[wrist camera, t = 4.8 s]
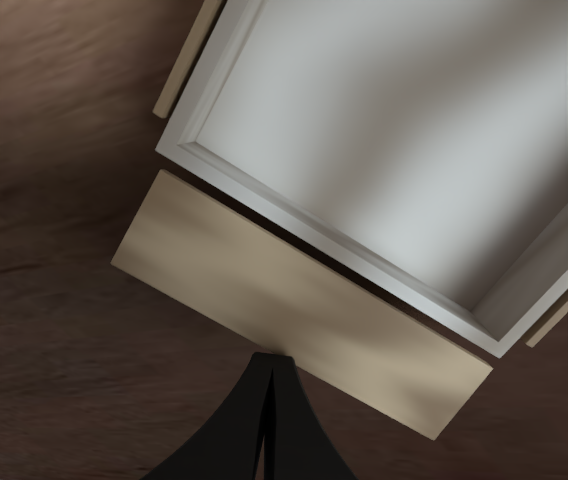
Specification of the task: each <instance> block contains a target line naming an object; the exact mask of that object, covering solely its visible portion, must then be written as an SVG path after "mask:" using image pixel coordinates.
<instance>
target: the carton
mask: <svg viewBox="0 0 568 480" xmlns="http://www.w3.org/2000/svg"><path fill="white" fill-rule="evenodd" d="M153 113H154V114H156V115H158V116H159V117H161V118H170V120H169V122H168V124H167V126H166V128H165V130H164V132H163V135H162V137H161V139H160V141H159V143H158V145H157V147H156V149H155V151H157V152H159V153H160V154H162V155H164V156H165V157H167V158H169V159H170V160H172V161H174V162H175V163H177V164H179V165H180V166H182V167H184V168H185V169H187V170H189V171H190V172H192V173H193V174H195V175H197V176H198V177H200V178H202V179H203V180H205V181H207V182H208V183H210V184H212V185H213V186H215V187H217V188H218V189H220V190H222V191H223V192H225V193H227V194H228V195H230V196H232V197H233V198H235V199H236V200H238V201H240V202H241V203H243V204H245V205H246V206H248V207H250V208H251V209H253V210H255V211H256V212H258V213H260V214H261V215H263V216H265V217H266V218H268V219H270V220H271V221H273V222H275V223H276V224H278V225H279V226H281V227H283V228H284V229H286V230H288V231H289V232H291V233H293V234H294V235H296V236H298V237H299V238H301V239H303V240H304V241H306V242H308V243H309V244H311V245H313V246H314V247H316V248H318V249H319V250H321V251H322V252H324V253H326V254H327V255H329V256H331V257H332V258H334V259H336V260H337V261H339V262H341V263H342V264H344V265H346V266H347V267H349V268H351V269H352V270H354V271H356V272H357V273H359V274H361V275H362V276H364V277H365V278H367V279H369V280H370V281H372V282H374V283H375V284H377V285H379V286H380V287H382V288H384V289H385V290H387V291H389V292H390V293H392V294H394V295H395V296H397V297H399V298H400V299H402V300H404V301H405V302H407V303H408V304H410V305H412V306H413V307H415V308H417V309H418V310H420V311H422V312H423V313H425V314H427V315H428V316H430V317H432V318H433V319H435V320H437V321H438V322H440V323H442V324H443V325H445V326H446V327H448V328H450V329H451V330H453V331H455V332H456V333H458V334H460V335H461V336H463V337H465V338H466V339H468V340H470V341H471V342H473V343H475V344H476V345H478V346H480V347H481V348H483V349H485V350H486V351H488V352H489V353H491V354H493V355H494V356H496V357H498V358H499V359H500V357H501V356H502V355H503V354H504V353H505V352H506V351H507V350H508V349H509V348H510V347H511V346H512V345H513V344H514V343H515V342H516V341H517V340H518V339H519V338H520V339H521V340H522V341H523V342H524V343H525V344H527V345H529V346H530V347H533V346H534V345H535V344H536V343H537V342H538V341H539V340H540V339H541V338H542V337H543V336H544V335H545V334H546V333H547V332H548V331H549V330H550V329H551V328H552V327H553V326H554V325H555V324H556V323H557V322H558V321H559V320H560V319H561V318H562V317H563V316H564V315H565V314H566V313H567V312H568V0H205V1H204V3H203V5H202V7H201V9H200V11H199V14H198V16H197V18H196V20H195V22H194V24H193V26H192V28H191V31H190V33H189V35H188V37H187V39H186V41H185V43H184V46H183V48H182V50H181V52H180V54H179V56H178V58H177V60H176V63H175V65H174V67H173V69H172V71H171V73H170V75H169V77H168V80H167V82H166V84H165V86H164V88H163V90H162V92H161V95H160V97H159V99H158V101H157V103H156V105H155V107H154V109H153Z"/></svg>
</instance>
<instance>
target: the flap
mask: <svg viewBox="0 0 568 480" xmlns="http://www.w3.org/2000/svg"><path fill="white" fill-rule="evenodd" d="M110 264H112V265H114V266H116V267H117V268H119V269H121V270H123V271H125V272H127V273H128V274H130V275H132V276H134V277H136V278H137V279H139V280H141V281H143V282H145V283H147V284H148V285H150V286H152V287H154V288H156V289H158V290H159V291H161V292H163V293H165V294H167V295H169V296H170V297H172V298H174V299H176V300H178V301H180V302H181V303H183V304H185V305H187V306H189V307H191V308H192V309H194V310H196V311H198V312H200V313H201V314H203V315H205V316H207V317H209V318H211V319H212V320H214V321H216V322H218V323H220V324H222V325H223V326H225V327H227V328H229V329H231V330H233V331H234V332H236V333H238V334H240V335H242V336H244V337H245V338H247V339H249V340H251V341H253V342H254V343H256V344H258V345H260V346H262V347H264V348H265V349H267V350H269V351H271V352H273V353H275V354H276V355H285V356H292V357H293V358H294V360H295V364H296V365H297V366H298V367H300V368H302V369H304V370H306V371H308V372H309V373H311V374H313V375H315V376H317V377H318V378H320V379H322V380H324V381H326V382H328V383H329V384H331V385H333V386H335V387H337V388H339V389H340V390H342V391H344V392H346V393H348V394H350V395H351V396H353V397H355V398H357V399H359V400H361V401H362V402H364V403H366V404H368V405H370V406H371V407H373V408H375V409H377V410H379V411H381V412H382V413H384V414H386V415H388V416H390V417H392V418H393V419H395V420H397V421H399V422H401V423H403V424H404V425H406V426H408V427H410V428H412V429H414V430H415V431H417V432H419V433H421V434H423V435H425V436H426V437H428V438H430V439H432V440H435V438H436V437H437V436H438V435H439V434H440V432H441V431H442V430H443V429H444V428H445V426H446V425H447V424H448V423H449V422H450V420H451V419H452V418H453V417H454V415H455V414H456V413H457V412H458V411H459V409H460V408H461V407H462V406H463V405H464V403H465V402H466V401H467V400H468V399H469V397H470V396H471V395H472V394H473V392H474V391H475V390H476V389H477V388H478V386H479V385H480V384H481V383H482V382H483V380H484V379H485V378H486V377H487V376H488V374H489V373H490V372H491V371H492V369H493V368H492V367H491V366H490V365H489V364H488V363H487V362H485V361H484V360H482V359H480V358H479V357H477V356H475V355H474V354H472V353H470V352H469V351H467V350H465V349H464V348H462V347H460V346H459V345H457V344H455V343H454V342H452V341H450V340H449V339H447V338H445V337H444V336H442V335H440V334H439V333H437V332H435V331H434V330H432V329H430V328H429V327H427V326H425V325H424V324H422V323H420V322H419V321H417V320H415V319H414V318H412V317H410V316H409V315H407V314H405V313H404V312H402V311H400V310H399V309H397V308H395V307H394V306H392V305H390V304H389V303H387V302H385V301H384V300H382V299H380V298H379V297H377V296H375V295H374V294H372V293H370V292H369V291H367V290H365V289H364V288H362V287H360V286H359V285H357V284H355V283H354V282H352V281H350V280H349V279H347V278H345V277H344V276H342V275H340V274H339V273H337V272H335V271H334V270H332V269H330V268H329V267H327V266H325V265H324V264H322V263H320V262H319V261H317V260H315V259H314V258H312V257H310V256H309V255H307V254H305V253H303V252H302V251H300V250H298V249H297V248H295V247H293V246H292V245H290V244H288V243H287V242H285V241H283V240H282V239H280V238H278V237H277V236H275V235H273V234H272V233H270V232H268V231H267V230H265V229H263V228H262V227H260V226H258V225H257V224H255V223H253V222H252V221H250V220H248V219H247V218H245V217H243V216H242V215H240V214H238V213H237V212H235V211H233V210H232V209H230V208H228V207H227V206H225V205H223V204H222V203H220V202H218V201H217V200H215V199H213V198H212V197H210V196H208V195H207V194H205V193H203V192H202V191H200V190H198V189H197V188H195V187H193V186H192V185H190V184H188V183H187V182H185V181H183V180H182V179H180V178H178V177H177V176H175V175H173V174H172V173H170V172H168V171H167V170H165V169H161V170H160V171H159V173H158V175H157V177H156V179H155V180H154V182H153V184H152V186H151V188H150V190H149V192H148V194H147V195H146V197H145V199H144V201H143V203H142V205H141V207H140V208H139V210H138V212H137V214H136V216H135V218H134V220H133V222H132V223H131V225H130V227H129V229H128V231H127V233H126V235H125V236H124V238H123V240H122V242H121V244H120V246H119V248H118V250H117V251H116V253H115V255H114V257H113V259H112V261H111V263H110Z"/></svg>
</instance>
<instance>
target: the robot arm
mask: <svg viewBox="0 0 568 480" xmlns="http://www.w3.org/2000/svg"><path fill="white" fill-rule="evenodd" d="M263 437H264V480H359V479H358V478H357V477H356V476H355V474H354V473H353V472H352V471H351V469H350V468H349V467H348V466H347V464H346V463H345V461H344V460H343V459H342V457H341V456H340V454H339V453H338V451H337V450H336V448H335V447H334V445H333V444H332V442H331V441H330V439H329V437H328V436H327V434H326V432H325V431H324V429H323V427H322V425H321V424H320V422H319V420H318V418H317V416H316V414H315V412H314V410H313V408H312V406H311V404H310V402H309V400H308V397H307V395H306V393H305V391H304V388H303V386H302V383H301V380H300V377H299V375H298V372H297V368H296V364H295V360H294V358H293V357H292V356H285V355H276V354H268V353H260V352H255V353H254V354H253V355H252V357H251V360H250V362H249V364H248V366H247V368H246V369H245V371H244V373H243V374H242V376H241V378H240V379H239V381H238V382H237V384H236V385H235V387H234V388H233V389H232V391H231V392H230V394H229V395H228V396H227V397H226V399H225V400H224V401H223V403H222V404H221V405H220V406H219V408H218V409H217V410H216V411H215V412H214V414H213V415H212V416H211V417H210V418H209V419H208V420H207V421H206V423H205V424H204V425H203V426H202V427H201V428H200V429H199V430H198V431H197V432H196V433H195V434H194V435H193V436H192V437H191V438H190V439H188V440H187V441H186V442H185V443H184V444H183V445H182V446H181V447H180V448H179V449H178V450H176V451H175V452H174V453H173V454H172V455H171V456H169V457H168V458H167V459H166V460H164V461H163V462H162V463H160V464H159V465H158V466H157V467H155V468H154V469H153V470H152V471H150V472H149V473H148V474H146V475H145V476H144V477H142V478H141V479H140V480H255V477H256V472H257V467H258V462H259V457H260V452H261V447H262V442H263Z"/></svg>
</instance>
